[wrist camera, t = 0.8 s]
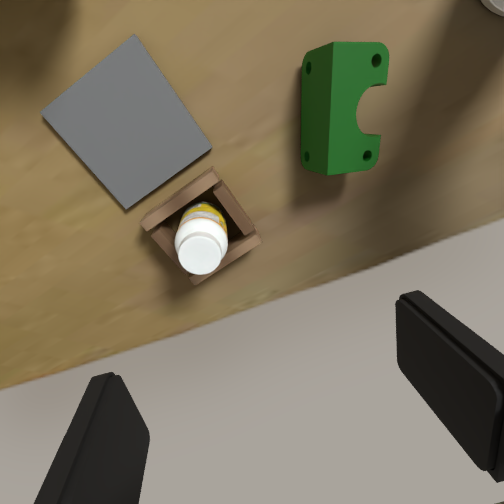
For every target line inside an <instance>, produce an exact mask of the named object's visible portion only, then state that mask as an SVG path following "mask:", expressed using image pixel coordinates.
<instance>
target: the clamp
mask: <svg viewBox="0 0 504 504" xmlns="http://www.w3.org/2000/svg"><path fill="white" fill-rule="evenodd" d="M388 65H389V52H388V49H387V47H386V46H385V45H384V44H382V43H380V42H332V43H329V44H327V45H324V46H321V47H319V48H316V49H314V50H311V51H309V52H307V53H306V55H305V57H304V59H303V63H302V94H301V162H302V165H303V167H304V168H305V169H306V170H310V171H313V172H317V173H320V174H324V175H335V174H342V173H350V172H358V171H365V170H369V169H371V168H372V167H373V166H374V165H375V164H376V162H377V160H378V155H379V146H380V137H381V135H373V134H363V133H362V132H361V131H360V129H359V127H358V125H357V121H356V109H357V105H358V102H359V100H360V97H361V96H362V94H363V93H364V92H365V90H366V89H367V88H369V87H373V86H380V85H386V83H387V74H388Z"/></svg>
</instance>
